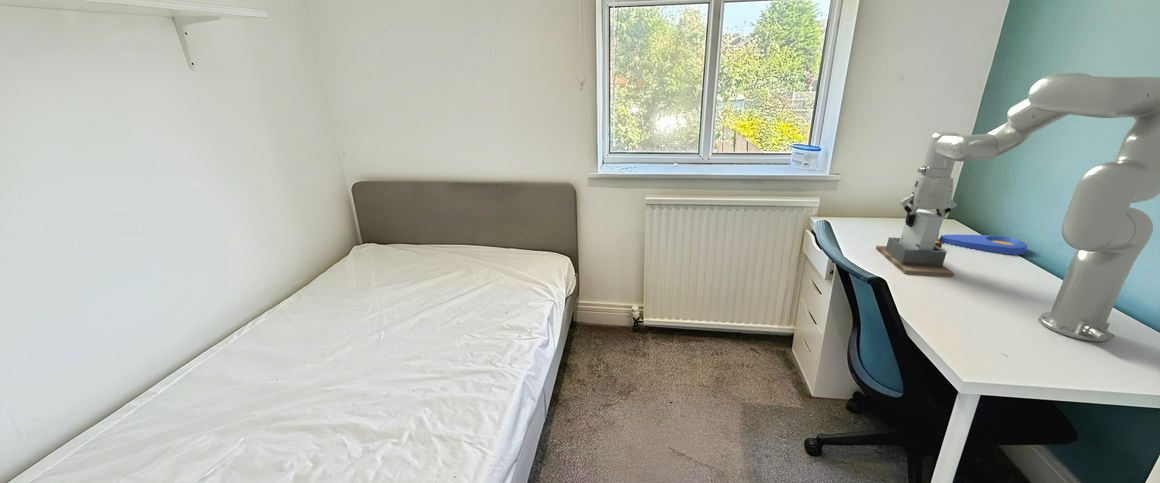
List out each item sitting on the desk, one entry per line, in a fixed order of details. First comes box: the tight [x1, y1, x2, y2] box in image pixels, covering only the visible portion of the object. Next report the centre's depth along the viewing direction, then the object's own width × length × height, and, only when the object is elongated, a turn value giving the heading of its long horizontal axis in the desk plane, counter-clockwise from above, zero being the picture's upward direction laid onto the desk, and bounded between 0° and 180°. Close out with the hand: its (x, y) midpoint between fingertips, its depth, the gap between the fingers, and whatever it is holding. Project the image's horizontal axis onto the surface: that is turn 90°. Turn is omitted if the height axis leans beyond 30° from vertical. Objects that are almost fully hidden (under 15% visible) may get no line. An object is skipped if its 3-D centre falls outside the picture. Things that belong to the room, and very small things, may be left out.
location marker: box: [939, 234, 1028, 256], centre depth 170 cm, size 13×3×25 cm
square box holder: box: [875, 237, 955, 278], centre depth 156 cm, size 22×14×6 cm, turn 170°
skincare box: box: [899, 208, 945, 251], centre depth 153 cm, size 8×6×15 cm
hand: (921, 225), depth 152 cm, fingers closed on skincare box, 7 cm apart
